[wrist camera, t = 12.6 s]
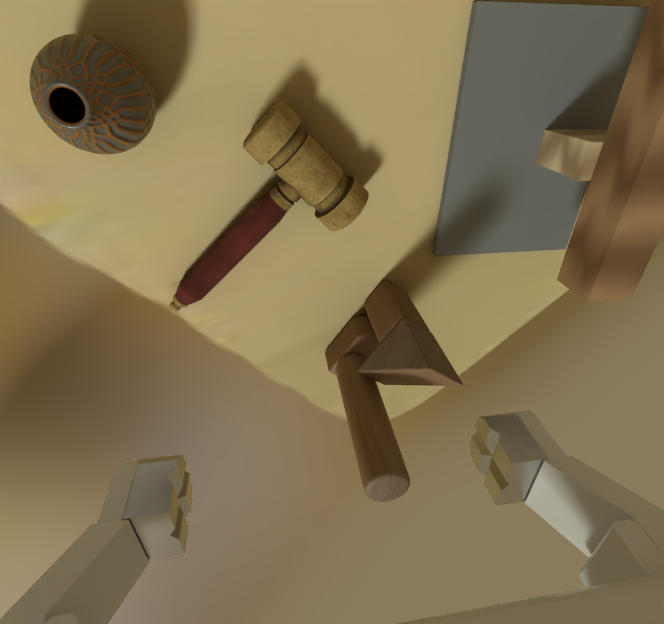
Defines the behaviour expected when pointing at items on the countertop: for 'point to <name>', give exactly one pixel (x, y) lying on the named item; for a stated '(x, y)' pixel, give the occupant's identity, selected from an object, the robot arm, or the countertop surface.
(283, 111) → the gavel
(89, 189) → the countertop surface
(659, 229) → the walnut bar
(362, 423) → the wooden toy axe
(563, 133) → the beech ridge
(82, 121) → the vase
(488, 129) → the slate mat
